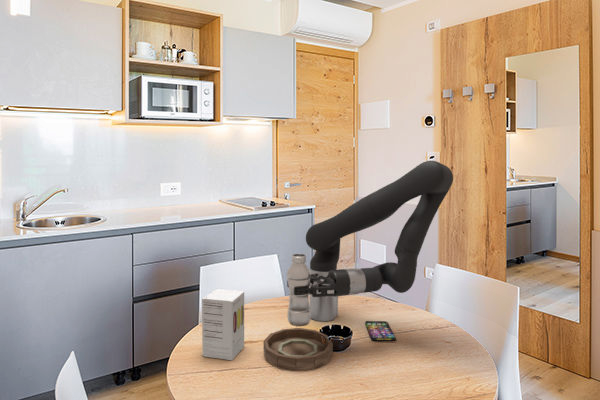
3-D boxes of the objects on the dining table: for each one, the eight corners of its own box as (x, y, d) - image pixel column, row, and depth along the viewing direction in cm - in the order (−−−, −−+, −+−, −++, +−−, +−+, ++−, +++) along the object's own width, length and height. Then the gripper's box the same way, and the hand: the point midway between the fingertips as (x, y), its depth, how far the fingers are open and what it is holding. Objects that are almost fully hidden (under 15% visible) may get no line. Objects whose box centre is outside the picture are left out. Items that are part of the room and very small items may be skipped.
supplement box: (232, 361, 117) (232, 301, 116) (201, 357, 120) (200, 298, 118) (245, 346, 127) (245, 290, 125) (216, 342, 129) (215, 287, 127)
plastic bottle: (308, 330, 117) (309, 258, 115) (284, 328, 119) (284, 257, 116) (312, 321, 124) (313, 253, 121) (289, 319, 125) (289, 252, 123)
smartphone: (387, 321, 145) (397, 340, 130) (387, 323, 145) (397, 343, 130) (364, 320, 145) (371, 340, 130) (364, 323, 145) (371, 343, 130)
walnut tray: (300, 333, 135) (300, 323, 135) (345, 355, 122) (345, 343, 121) (250, 352, 123) (250, 340, 122) (294, 378, 109) (295, 365, 108)
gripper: (337, 263, 130) (283, 267, 126) (357, 276, 117) (298, 281, 112) (336, 287, 131) (283, 292, 126) (356, 303, 118) (298, 309, 113)
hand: (290, 287), depth 119 cm, fingers closed on plastic bottle, 6 cm apart
